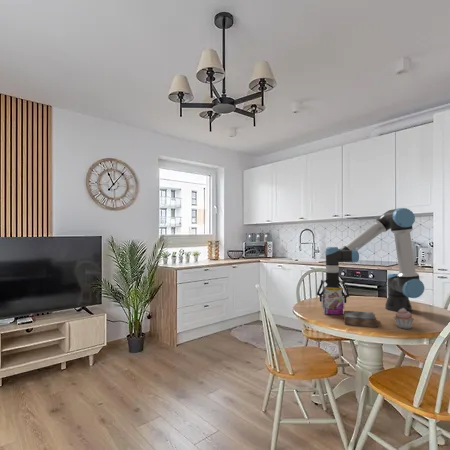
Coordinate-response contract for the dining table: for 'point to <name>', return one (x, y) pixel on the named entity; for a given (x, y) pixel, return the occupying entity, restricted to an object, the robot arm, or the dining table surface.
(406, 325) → the cupcake
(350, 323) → the podium
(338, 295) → the candy bar box
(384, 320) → the dining table surface
